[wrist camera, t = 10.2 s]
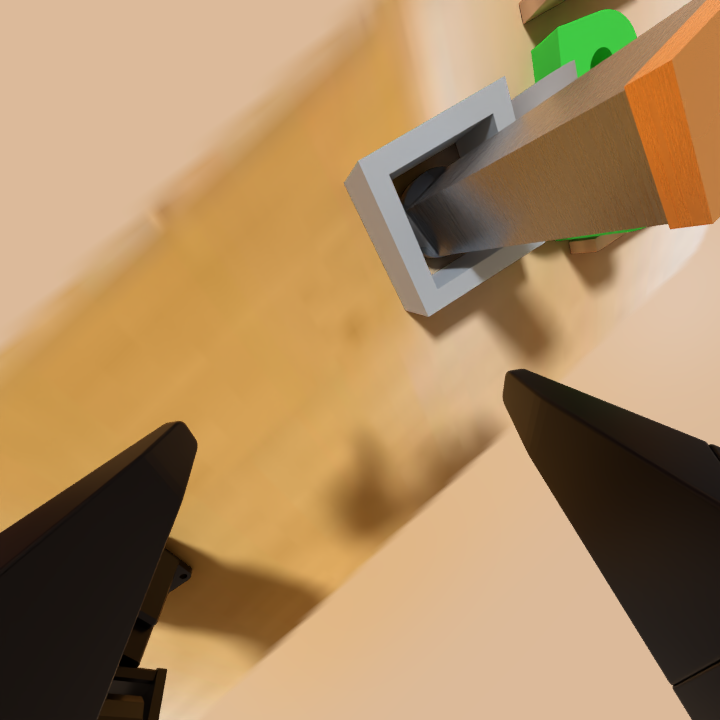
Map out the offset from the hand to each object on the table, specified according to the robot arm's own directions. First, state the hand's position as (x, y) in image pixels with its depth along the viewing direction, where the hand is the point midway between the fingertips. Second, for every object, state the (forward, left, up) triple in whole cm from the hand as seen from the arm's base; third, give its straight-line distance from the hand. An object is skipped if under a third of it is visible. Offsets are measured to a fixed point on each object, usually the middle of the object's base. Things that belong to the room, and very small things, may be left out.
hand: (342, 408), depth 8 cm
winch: (+14, +2, -12) cm, 18 cm away
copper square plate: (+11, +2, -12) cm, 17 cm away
